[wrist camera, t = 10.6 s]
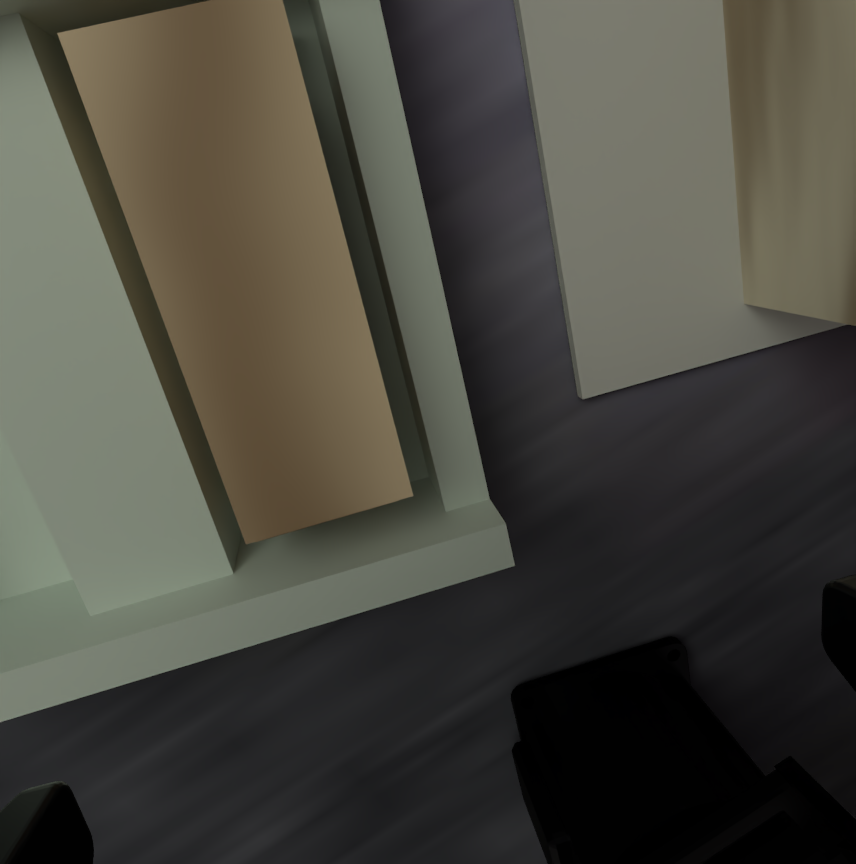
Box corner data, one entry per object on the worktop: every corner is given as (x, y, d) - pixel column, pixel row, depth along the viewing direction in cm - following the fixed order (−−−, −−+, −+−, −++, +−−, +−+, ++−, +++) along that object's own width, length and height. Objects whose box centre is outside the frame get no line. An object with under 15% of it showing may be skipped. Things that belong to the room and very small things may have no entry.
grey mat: (1001, -248, 18) (1016, -258, 17) (976, 283, 22) (987, 285, 22) (490, -145, 16) (494, -153, 16) (577, 396, 21) (582, 399, 21)
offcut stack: (283, 37, 16) (275, -28, 12) (396, 459, 19) (421, 526, 15) (112, 75, 15) (40, 22, 11) (260, 498, 19) (248, 578, 15)
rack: (340, -63, 16) (355, -176, 12) (468, 488, 21) (514, 565, 17) (-385, 89, 15) (-706, 30, 10) (-63, 643, 20) (-178, 775, 15)
